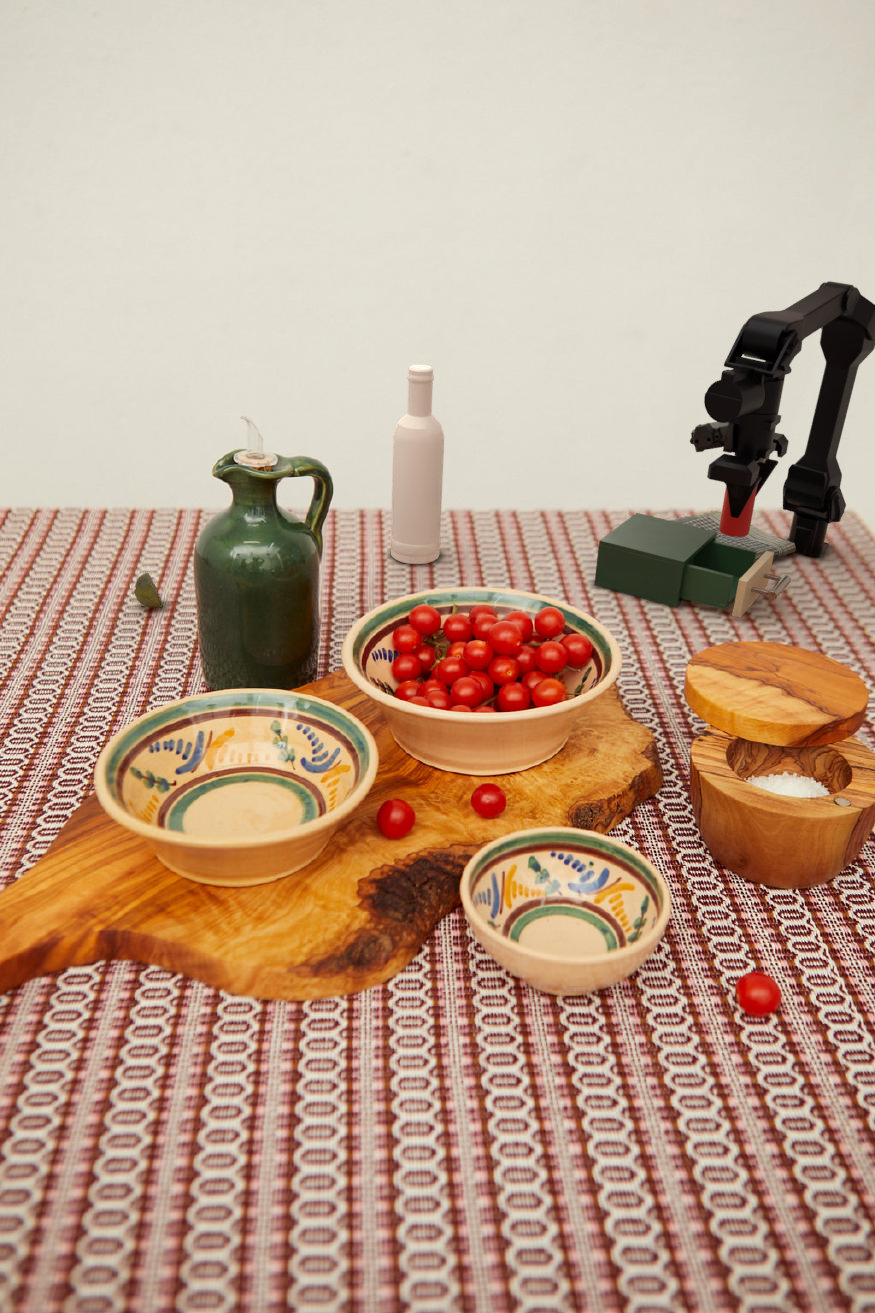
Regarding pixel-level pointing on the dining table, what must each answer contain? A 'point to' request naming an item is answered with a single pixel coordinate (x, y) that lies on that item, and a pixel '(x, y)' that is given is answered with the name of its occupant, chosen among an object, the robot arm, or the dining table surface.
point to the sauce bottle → (736, 525)
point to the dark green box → (649, 557)
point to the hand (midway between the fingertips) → (739, 512)
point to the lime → (147, 592)
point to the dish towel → (752, 541)
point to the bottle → (417, 475)
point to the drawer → (729, 577)
